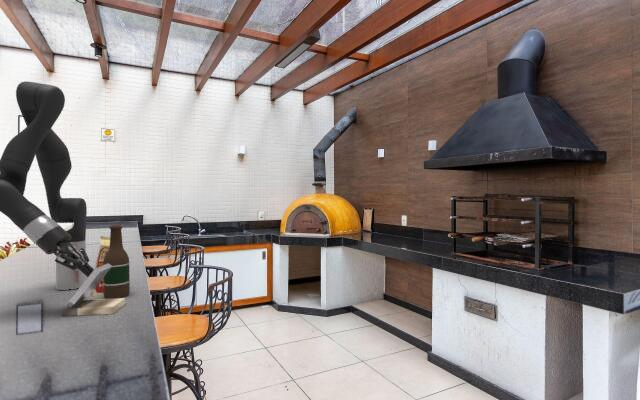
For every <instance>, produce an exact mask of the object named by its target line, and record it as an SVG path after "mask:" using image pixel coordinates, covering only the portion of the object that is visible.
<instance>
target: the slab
mask: <svg viewBox="0 0 640 400" xmlns="http://www.w3.org/2000/svg"><path fill="white" fill-rule="evenodd" d="M111 267H112V266H111V265H110V264H108V263H107V264H105V265H103V266H100V267H98V268H96V269H95V268H93V269H94V271H93V272H92V273H91V274H90V276H89V277H88V278H87V279H86V281H85V282H84V283H83V284H82V286H81V287H80V288H78V289H77V291H76V292H75V293H74V295H73V296H72V297H71V298H70V300H68V302H69V303H68V304H67V306H68V307H72V306H74V305H75V304H77V303H79V302H81V301H82V300H87V298H88V297H90V296H91V294H93V290H94V289H95V288H96V286H97V285H98V284H99V283H100V281H101V280H102V279H103V278H104V276H105V275H106V274H107V273H108V271H109V270H110V269H111ZM67 306H66V307H67Z"/></svg>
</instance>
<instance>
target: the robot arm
mask: <svg viewBox="0 0 640 400" xmlns="http://www.w3.org/2000/svg"><path fill="white" fill-rule="evenodd" d="M15 96H16V102H17V105H18V108H19V111H20V113H21V116H22V118H23V120H24V123H25V126H26V127H25V128H23V130H22V131H20V132H19V133H17V134H16V135H15V136H13V137H12V139H10V140H9V141H8V143H7V145H6V146H5V148H4V150H3V152H2V155H1V157H0V212H1V213H2V214H3V215H5V216H6V217H7V218H9V220H10V221H11V222H12V223H13V224H14V225H15V226H17V228H19V230H21V231H22V232H23V233H24V234H25V236H27V238H28V239H29V240H31V242H33V243H34V244H35V245H36V246H38V248H39V249H41V251H42V252H44V253H45V254H46V255H52V254H54V256H55V258H54V262H55V289H56V290H57V291H70V290H69V289H71V290H78V289H79V288H80V287H81V286H82V284H83V283H84V282H85V281H86V279H87V278H88V277H89V276H90V274H91V273H92V272H93V271H94V269H95V268H94V267H92V266H91V265H90V264H89V262H90V259H89V257H88V254H87V248H86V246H87V245H86V244H87V243H86V241H87V240H86V233H87V212H88V211H87V210H88V209H87V202H86V200H85V199H84V198H82V197H62V196H61V188H62V186H63V184H64V183H65V181H66V179H68V177H69V175H70V173H71V170H72V166H73V165H72V161H71V157H70V152H69V151H70V150H69V149H68V147H67V145H66V144H65V142H64V141H63V140H62V139H61V138H60V137H59V136H58V135H57V133H56V132H55V131H54V129H52V127H53V126H54V125H55V123H56V121H57V120H58V119H59V117H60V115H61V114H62V112H63V111H64V107H65V104H66V97H65V94H64V92H63V90H62V89H61V88H60V87H58V86H56V85H51V84H46V83H40V82H34V81H21V82H19V84H18V85H17V86H16V90H15ZM35 158H36V162H37V166H38V169H39V172H40V175H41V178H42V182H43V186H44V188H45V189H44V190H45V197H46V200H47V206H48V211H49V213H48V214H49V215H47V214H46V213H45V212H44V211H43V210H42V209H41V208H40V207H38V206H37V205H35V204H34V203H33V202H31V201H29V200H28V198H27V197H25V196H24V194H25V190H26V185H27V180H28V179H27V178H28V174H29V171H30V169H31V168H32V164H33V162H34V160H35ZM67 223H68V224H72V227H71V228H69V229H68V230H65V229H64V228H63V227H62V226H61V225H60V224H67ZM77 288H78V289H77Z"/></svg>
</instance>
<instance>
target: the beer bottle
mask: <svg viewBox="0 0 640 400" xmlns="http://www.w3.org/2000/svg"><path fill="white" fill-rule="evenodd" d="M109 229H110V235H109V238H110V246H109V250H108V251H107V253H106V254H105V257H104V261H103V265H105V264H107V263H108V264H110V265H111V266H112V267H111V269H110V270H109V271H108V273H107V274H106V275H105V276H104V278H103V288H104V295H103V297H104V299H115V298H126V297H129V296H130V289H131V288H130V285H131V284H130V280H131V279H130V257H129V255H128V253H127V251H126V250H125V248H124V245H123V240H122V239H123V235H122V234H123V233H122V229H123V226H122V225H120V224H113V225H109Z"/></svg>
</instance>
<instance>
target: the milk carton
mask: <svg viewBox="0 0 640 400" xmlns="http://www.w3.org/2000/svg"><path fill="white" fill-rule="evenodd" d="M99 238H100V246H99V250H98V253H97V257H96V261H95V267H94V269H96V268H98V267H100V266H103V261H104V257H105V254H106V253H107V251H108V250H109V246H110V236H109V237H108V236H104V235H100V237H99ZM123 240H124V238H122V241H123ZM97 296H104V288H103V279H102V280H101V281H100V283H99V284H98V285H97V286H96V288H95V289H94V290H93V292H92V297H97Z"/></svg>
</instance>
